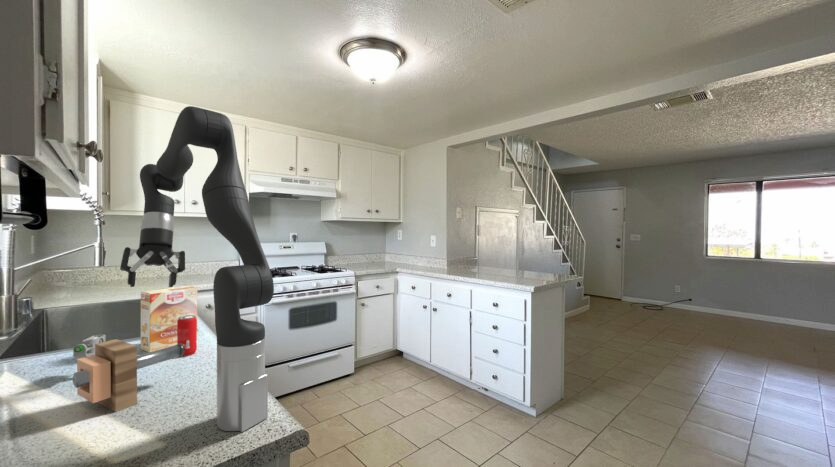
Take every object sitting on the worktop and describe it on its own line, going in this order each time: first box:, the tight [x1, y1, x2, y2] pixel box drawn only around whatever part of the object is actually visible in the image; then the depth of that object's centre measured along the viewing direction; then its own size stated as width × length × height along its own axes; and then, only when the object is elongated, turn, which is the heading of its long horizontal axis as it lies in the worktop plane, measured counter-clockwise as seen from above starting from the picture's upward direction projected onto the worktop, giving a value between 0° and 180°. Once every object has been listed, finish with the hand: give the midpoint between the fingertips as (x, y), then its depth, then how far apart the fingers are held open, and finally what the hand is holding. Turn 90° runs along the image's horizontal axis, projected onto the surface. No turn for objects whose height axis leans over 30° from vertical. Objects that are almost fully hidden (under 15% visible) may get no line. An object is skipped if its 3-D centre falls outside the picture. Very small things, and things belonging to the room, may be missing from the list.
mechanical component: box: [72, 334, 107, 359], centre depth 95 cm, size 3×10×10 cm, turn 15°
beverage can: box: [177, 315, 198, 357], centre depth 112 cm, size 5×5×12 cm
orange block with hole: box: [76, 355, 111, 404], centre depth 77 cm, size 8×3×8 cm, turn 62°
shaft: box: [72, 344, 185, 389], centre depth 84 cm, size 21×3×3 cm, turn 152°
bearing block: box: [95, 338, 138, 413], centre depth 81 cm, size 10×4×14 cm, turn 62°
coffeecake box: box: [140, 285, 198, 353], centre depth 120 cm, size 15×7×20 cm, turn 150°
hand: (152, 286), depth 95 cm, fingers open, 8 cm apart
